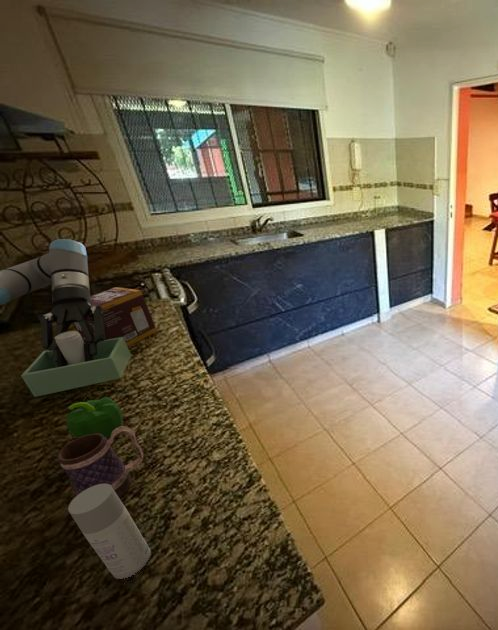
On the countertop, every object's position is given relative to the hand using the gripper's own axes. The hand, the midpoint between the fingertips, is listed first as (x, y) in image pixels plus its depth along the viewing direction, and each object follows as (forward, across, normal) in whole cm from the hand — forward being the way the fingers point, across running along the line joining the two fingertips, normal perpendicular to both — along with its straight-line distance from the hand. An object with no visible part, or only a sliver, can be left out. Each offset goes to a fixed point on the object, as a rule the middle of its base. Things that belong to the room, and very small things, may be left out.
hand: (76, 370), depth 90 cm
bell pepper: (+22, +11, -16) cm, 29 cm away
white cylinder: (0, 0, +5) cm, 5 cm away
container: (+46, +22, -40) cm, 65 cm away
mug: (+34, +17, -28) cm, 47 cm away
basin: (0, 0, +5) cm, 5 cm away
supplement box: (-13, +4, +18) cm, 23 cm away
